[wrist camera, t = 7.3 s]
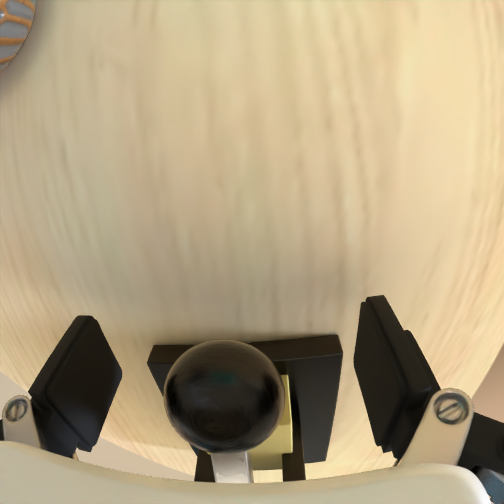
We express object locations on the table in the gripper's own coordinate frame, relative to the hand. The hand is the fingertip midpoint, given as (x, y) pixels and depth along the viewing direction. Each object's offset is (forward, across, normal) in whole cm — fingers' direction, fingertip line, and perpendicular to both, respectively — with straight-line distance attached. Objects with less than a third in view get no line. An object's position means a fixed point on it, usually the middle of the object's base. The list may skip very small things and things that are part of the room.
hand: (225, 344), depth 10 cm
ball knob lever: (-3, 0, +5) cm, 6 cm away
